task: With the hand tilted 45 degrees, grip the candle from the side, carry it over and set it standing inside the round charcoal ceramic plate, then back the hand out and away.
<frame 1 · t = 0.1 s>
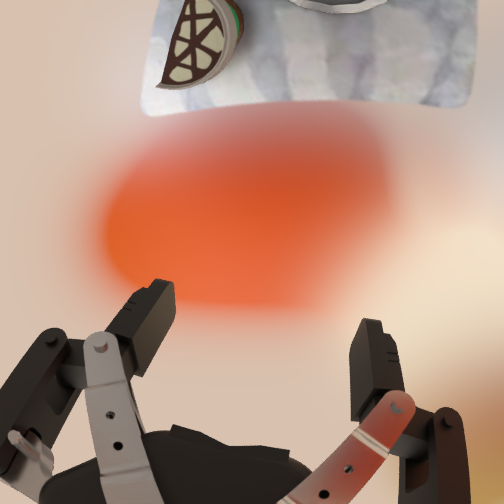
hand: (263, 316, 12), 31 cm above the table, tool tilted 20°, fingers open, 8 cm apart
food container: (227, 30, 29), on the table
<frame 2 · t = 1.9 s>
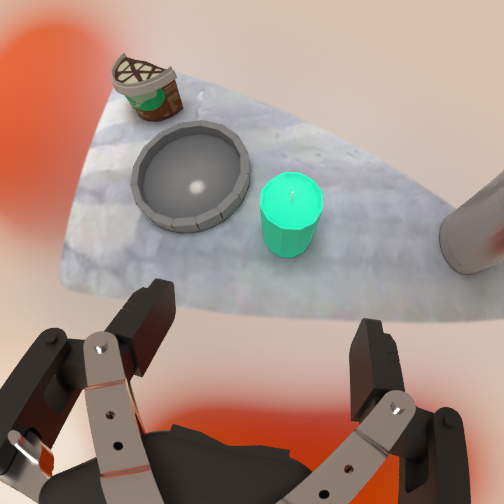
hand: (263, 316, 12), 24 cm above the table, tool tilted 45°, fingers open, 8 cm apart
food container: (152, 112, 45), on the table
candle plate: (192, 178, 41), on the table
candle: (287, 235, 38), on the table
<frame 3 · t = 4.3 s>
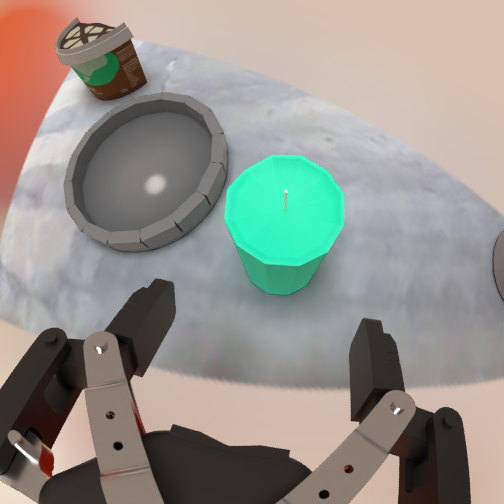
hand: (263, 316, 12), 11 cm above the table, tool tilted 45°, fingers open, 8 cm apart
food container: (109, 89, 32), on the table
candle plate: (146, 172, 28), on the table
candle: (280, 259, 25), on the table
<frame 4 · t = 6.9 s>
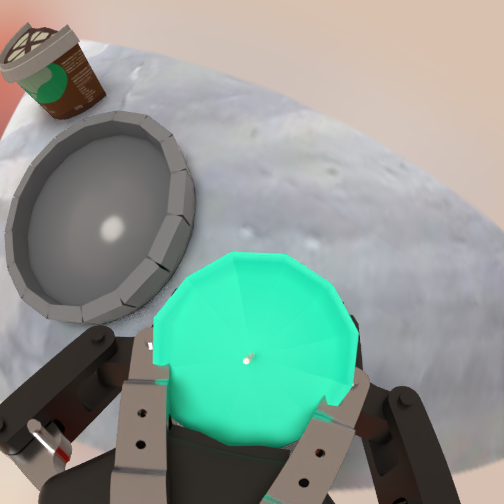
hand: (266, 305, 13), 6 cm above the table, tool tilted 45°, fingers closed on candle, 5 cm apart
food container: (66, 105, 26), on the table
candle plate: (96, 217, 21), on the table
candle: (262, 343, 18), on the table, touching gripper
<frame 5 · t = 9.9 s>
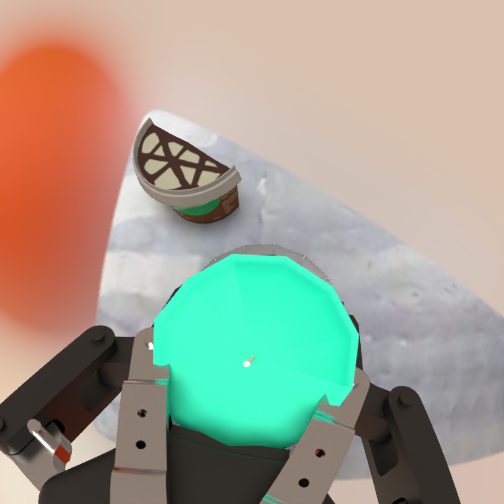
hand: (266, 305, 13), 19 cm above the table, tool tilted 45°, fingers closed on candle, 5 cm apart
food container: (192, 205, 36), on the table
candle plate: (261, 326, 32), on the table
candle: (263, 344, 18), point 13 cm above the table, touching gripper
when the fingers open (8 cm above the table, at t = 12.9 s): candle moves 1 cm, point 2 cm above the table.
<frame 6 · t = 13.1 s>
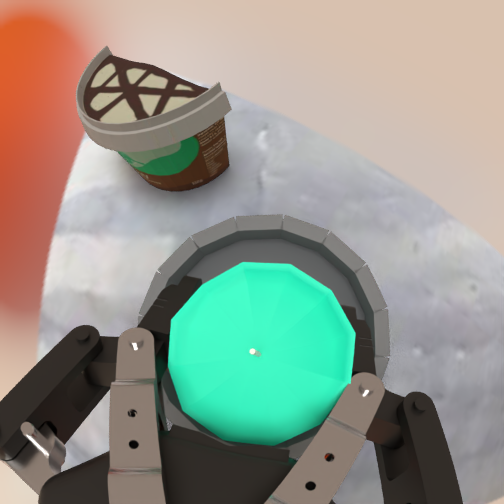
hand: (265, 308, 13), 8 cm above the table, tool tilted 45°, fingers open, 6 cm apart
food container: (165, 168, 25), on the table
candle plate: (263, 340, 21), on the table
candle: (272, 360, 19), point 2 cm above the table, touching gripper
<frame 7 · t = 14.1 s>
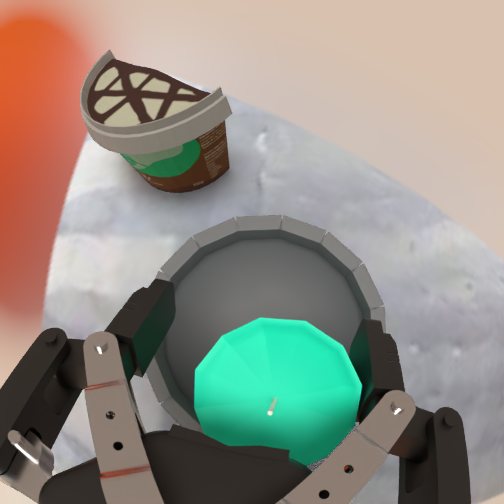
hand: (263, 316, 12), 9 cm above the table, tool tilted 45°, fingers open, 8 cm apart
food container: (166, 170, 26), on the table
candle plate: (263, 337, 21), on the table
candle: (287, 367, 20), point 1 cm above the table, touching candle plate, gripper
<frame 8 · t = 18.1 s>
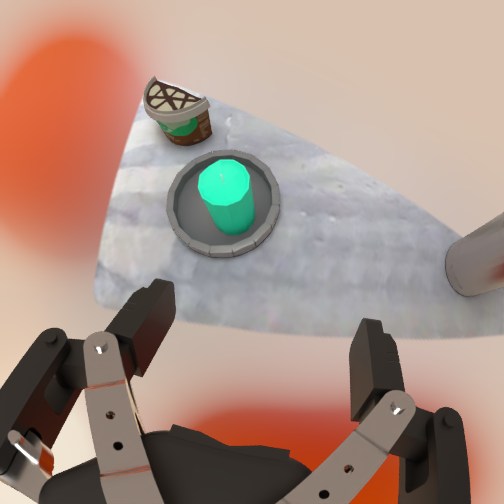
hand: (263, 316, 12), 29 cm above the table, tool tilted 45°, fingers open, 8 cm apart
food container: (180, 136, 50), on the table
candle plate: (224, 205, 45), on the table
candle: (234, 216, 44), point 1 cm above the table, touching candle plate
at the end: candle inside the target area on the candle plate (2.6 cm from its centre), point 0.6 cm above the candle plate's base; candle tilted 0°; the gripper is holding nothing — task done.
